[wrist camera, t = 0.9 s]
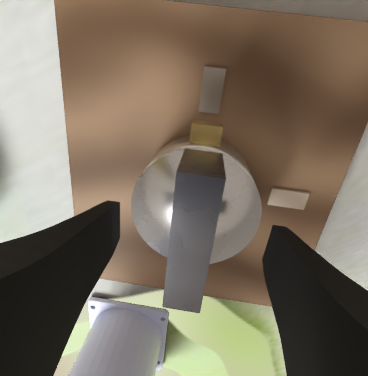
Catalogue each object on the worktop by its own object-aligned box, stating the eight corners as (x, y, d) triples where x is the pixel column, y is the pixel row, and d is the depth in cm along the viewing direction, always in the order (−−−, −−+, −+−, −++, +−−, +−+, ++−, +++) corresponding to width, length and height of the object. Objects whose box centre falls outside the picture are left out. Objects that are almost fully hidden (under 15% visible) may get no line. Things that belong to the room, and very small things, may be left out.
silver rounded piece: (239, 237, 18) (254, 322, 12) (144, 223, 18) (109, 298, 12) (267, 125, 14) (309, 161, 8) (149, 110, 15) (105, 134, 9)
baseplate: (284, 294, 22) (290, 311, 20) (87, 263, 23) (78, 276, 21) (387, 31, 13) (410, 25, 12) (68, -4, 14) (50, -13, 13)
